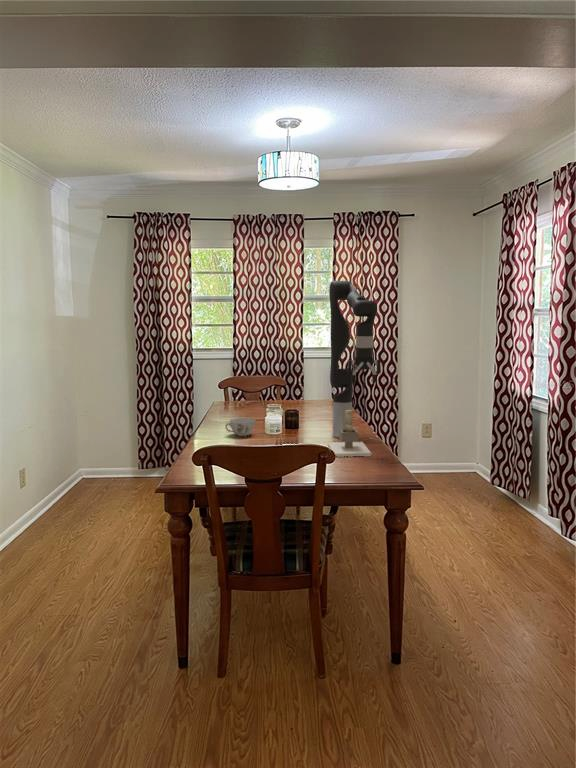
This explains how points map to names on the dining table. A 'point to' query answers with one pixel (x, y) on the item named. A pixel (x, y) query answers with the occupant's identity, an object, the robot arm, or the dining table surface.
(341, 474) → the dining table surface
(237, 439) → the dining table surface
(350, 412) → the rail post
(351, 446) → the cup bracket
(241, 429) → the teacup
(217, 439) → the dining table surface
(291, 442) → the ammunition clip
